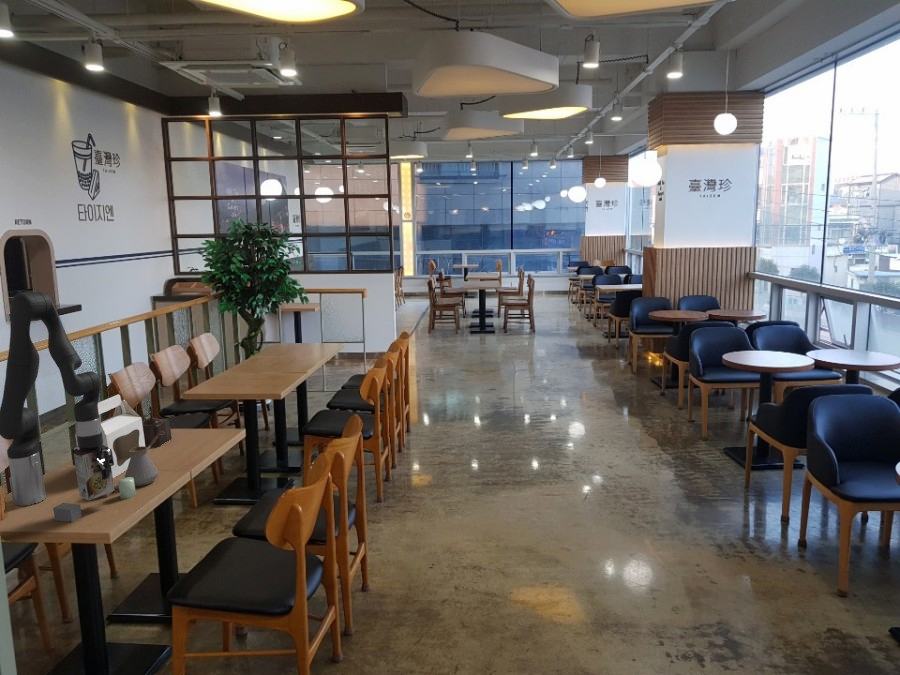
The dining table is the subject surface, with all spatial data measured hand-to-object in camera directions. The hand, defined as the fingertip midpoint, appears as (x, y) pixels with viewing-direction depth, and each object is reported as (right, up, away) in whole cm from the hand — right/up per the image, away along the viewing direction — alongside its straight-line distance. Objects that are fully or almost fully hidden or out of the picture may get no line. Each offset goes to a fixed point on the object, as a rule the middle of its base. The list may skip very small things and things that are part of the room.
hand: (95, 478), depth 231 cm
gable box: (-12, -4, +39) cm, 41 cm away
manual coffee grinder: (-10, +1, +65) cm, 66 cm away
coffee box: (0, -6, +1) cm, 6 cm away
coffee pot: (+6, -5, +28) cm, 29 cm away
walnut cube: (-4, -9, +13) cm, 16 cm away
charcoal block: (-6, -12, -5) cm, 15 cm away
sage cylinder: (+6, -9, +11) cm, 15 cm away
